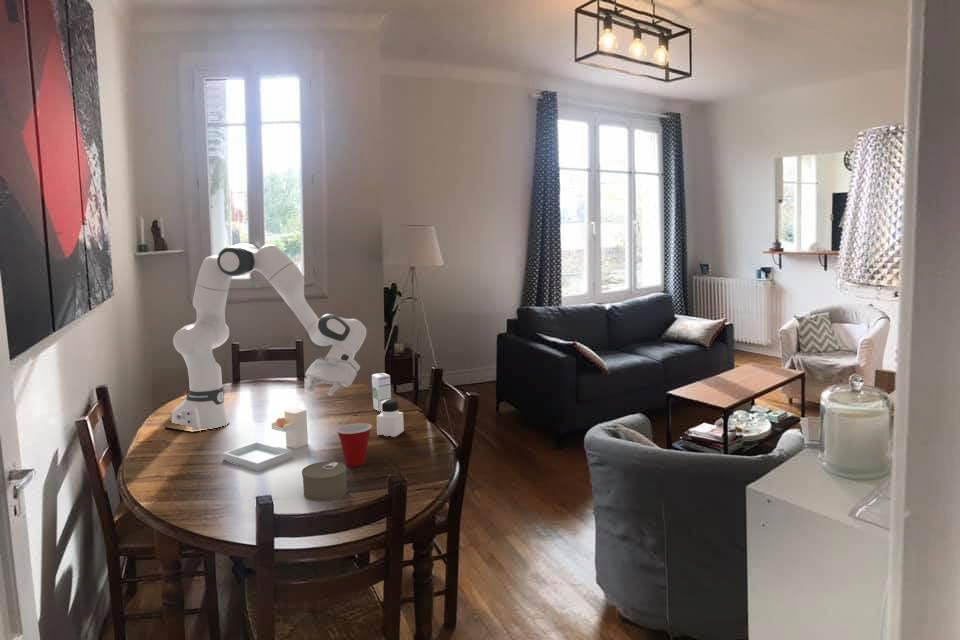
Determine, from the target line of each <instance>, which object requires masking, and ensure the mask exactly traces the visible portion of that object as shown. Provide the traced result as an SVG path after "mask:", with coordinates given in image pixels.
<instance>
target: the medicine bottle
mask: <svg viewBox="0 0 960 640" xmlns="http://www.w3.org/2000/svg"><path fill="white" fill-rule="evenodd" d="M404 425H405V424H404V412H403V411H399V401H398V400H396V399H392V398H391V399H388V400H384V401H382V402H381V412H380V414H378V415H376V435H377V436H379V435H384V436H383V437H388V436H391V438H396V437H397V436H399V435H400V434H402V433H403V432H404V431H405V430H404V428H405V427H404Z"/></svg>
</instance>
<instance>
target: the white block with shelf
mask: <svg viewBox="0 0 960 640" xmlns="http://www.w3.org/2000/svg"><path fill="white" fill-rule="evenodd" d="M307 415H308V413H307V409H303V408H299V407H294V408H291V409H287V410H285V411H284V418H285V419H286V425H284V426H283V427H279V426H277V424H276V421H275V422H271V429H272V430H275V431H279V432H283V433H285V444H286V447H290V448H293V449H296V448H297V449H299V448H302V447H305V446H306V445H309V435H308V434H309V433H308V419H307V418H308V416H307Z"/></svg>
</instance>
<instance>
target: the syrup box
mask: <svg viewBox="0 0 960 640" xmlns="http://www.w3.org/2000/svg"><path fill="white" fill-rule="evenodd" d="M371 388H372V389H371V390H372V407H373V408H372V409H373V410H374V409H375V410H374V411H376V410H377V411H376V412H378V411H379V412H378V413H381V412H380V411H381V402H382V401H384V400H388V399H392V392H391V391H392V389H391V388H392V387H391V375H390V374H387V373H385V372H380V373H374V374H371Z"/></svg>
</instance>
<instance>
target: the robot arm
mask: <svg viewBox="0 0 960 640" xmlns="http://www.w3.org/2000/svg"><path fill="white" fill-rule="evenodd" d="M253 272H259V273H260V274H261V275H263V277H264V278H265V279H266V280H267V282H268V283H269V284H270V285H271V286H272V287H273V288H274V290H275V291H276V292H277V293H278V294H279V296H280V297H281V299H283V301H284V303H286V306H287V307H288V308H289V310H290V311H291V313H292V314H293V315H294V317H295V318H296V319H297V321H298V322H299V323H300V325H301V326H302V327H303V330H304V331H305V334H306V337H307V340H308V342H309V344H310V345H311V346H312V347H314V348H315V349H319V350H326V349H327V350H328V349H329V348H330V347H331V348H330V349H329V351H328V353H326V354H327V355H326V356H325V357H323V356H321V357H319V358H317V359H315V360H314V361H313V362H312V363H311V364H310V365H309V367H308V368H307V370H306V371H305V377H306V378H307V379H308V380H309V385H308V387H307V391H309V392H312V393H314V391H315V390H316V387H315V384H317V382H318V383H324V384H328V385H332V386H331V387H330V388H327V391H326V394H327V395H328V396H333V395H334V393H335V392H336V391H338V390H339V389H340V388H341V387H345V388H346V387H347V388H348V387H350V386H351V385H352V384H353V382H354V380H355V379H356V376H357V374H358V371H359V370H360V369H361V366H360V364H358V362H357V361H356V360H355V359H354V358H355V356H356V354H357V352H358V351H360V349H361V347H362V346H363V343H364V341H365V339H366V337H367V328H366V326H365V325H364V324H363V323H362V321H360V320H359V319H357V318H345V317H341V316H338V315H336V314H334V313H326V314H324V315H322V316H321V317H320V318H319V316H317V314H316V313H315V312H314V310H313V309H312V307H311V306H310V304H309V303H308V302H307V300H306V298H305V277H304V275H303V273H302V271H301V270H300V268H299V267H298V266H297V265H296V263H295V262H294V261H293V259H291V258H290V257H289V255H287V254H286V252H284V251H283V250H282V249H281V248H280V247H278V246H277V245H275V244H273V243H268V244H264V245H263V246H261V247H260V246H258V245H257V244H254V243H251V242H246V243H244V242H243V243H236V244H234V245H227V246H225V247H224V248H223V249H221V250H220V252H219V253H218V255H209V256H207V257H205V258H204V259H203V261H202V264H201V266H200V268H199V272H198V274H197V279H196V283H195V289H194V293H193V297H192V306H193V308H194V309H195V311H196V320H195V322H194V323H190V324H187V325H184V326H183V327H182V328H180V329H179V330H177V331H176V332H175V333H174V335H173V338H172V343H173V346H174V349H175V350H176V351H177V352H178V353H179V354H180V355H181V356H182V357H183V360H184V362H185V364H186V367H187V373H188V382H189V383H188V384H189V389H188V390H185V391H184V392H183V396H185V395H186V398H185V399H184V401H181V403H180V404H179V405H178V406H176V407H175V408H174V409H173V411H172V412H171V421H172V423H175V424H180V425H185V426H189V427H192V428H194V429H192V430H199V429H210V428H218V427H221V428H223V427H222V426H224V427H226V426H228V425H229V424H230V421H229V417H228V415H227V410H226V405H225V402H224V401H225V389H224V386H223V382H222V381H223V380H222V379H223V378H222V367H221V365H220V364H219V363H218V362H217V361H216V359H215V357H214V353H213V350H214V349H216V348H219V347H221V346H222V345H223V344H225V343H226V342H227V340H228V339H229V337H230V328H229V326H228V325H227V323H226V306H227V300H228V295H229V290H230V284H231V282H232V278H233V277H239V276H244V275H245V276H246V275H248V274H251V273H253ZM228 423H229V424H228ZM227 424H228V425H227ZM225 425H226V426H225ZM218 429H219V428H218Z"/></svg>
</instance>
